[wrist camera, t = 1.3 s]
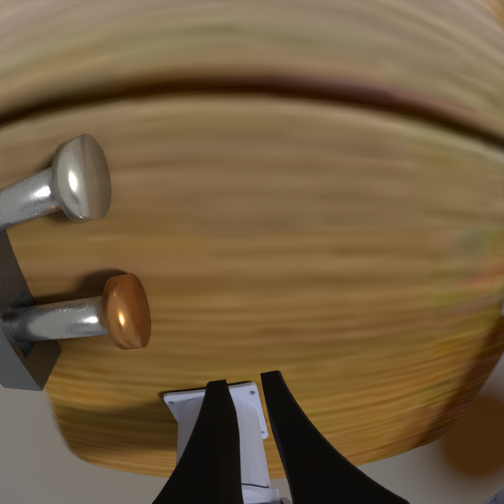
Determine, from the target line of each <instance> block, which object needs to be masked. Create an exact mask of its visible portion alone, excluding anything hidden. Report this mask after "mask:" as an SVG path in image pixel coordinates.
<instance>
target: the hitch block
mask: <svg viewBox="0 0 504 504" xmlns="http://www.w3.org/2000/svg"><path fill="white" fill-rule="evenodd" d="M31 306H37V305H36V303H35V301H34V299H33V297H32V295H31V293H30V290H29V288H28V286H27V284H26V282H25V279H24V277H23V275H22V272H21V270H20V267H19V265H18V263H17V260H16V258H15V255H14V252H13V250H12V247H11V244H10V241H9V239H8V236H7V233H6V230H5V229H4V230H2V231H0V383H1V384H2V386H3V387H5V388H14V389H23V390H35V391H42V390H43V388H44V386H45V384H46V382H47V380H48V378H49V375H50V373H51V371H52V369H53V367H54V365H55V363H56V361H57V359H58V357H59V355H60V354H61V352H62V350H61V349H60V347H59V345H58V344H57V342H56V340H55V339H54V340H39V341H20V342H15V341H14V339H13V337H12V336H11V334H10V332H9V330H8V329H7V327H6V325H5V323H4V321H3V320H2V318H1V316H2V315H3V314H4V313H5V312H6V310H10V309H17V308H24V307H31Z"/></svg>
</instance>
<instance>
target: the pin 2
mask: <svg viewBox="0 0 504 504" xmlns="http://www.w3.org/2000/svg"><path fill="white" fill-rule="evenodd" d="M1 318H2V320H3V321H4V323H5V325H6V327H7V329H8V330H9V332H10V334H11V336H12V337H13V339H14V341H15V342H20V341H39V340H54V339H67V338H79V337H90V336H100V335H110V337H111V339H112V341H113V342H114V343H115V345H116V346H117V347H119V348H120V349H123V350H127V349H137V348H144V347H146V346H147V344H148V343H149V340H150V334H151V318H150V310H149V305H148V300H147V297H146V294H145V291H144V288H143V286H142V284H141V282H140V280H139V279H138V277H137V276H136V275H134V274H132V273H129V274H124V275H119V276H113V277H110V278H109V279H108V280H107V281H106V283H105V286H104V290H103V295H102V296H96V297H89V298H83V299H77V300H70V301H64V302H57V303H51V304H44V305H37V306H31V307H24V308H17V309H10V310H6V312H5V313H4V314H3V315H2V316H1Z"/></svg>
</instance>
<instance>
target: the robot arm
mask: <svg viewBox="0 0 504 504" xmlns="http://www.w3.org/2000/svg"><path fill="white" fill-rule="evenodd" d="M260 375H261V381H262V386H263V391H264V396H265V401H266V406H267V410H268V415H269V420H270V424H271V429H272V432H273V436H274V439H275V442H276V445H277V448H278V451H279V455H280V458H281V461H282V464H283V467H284V470H285V473H286V477H287V480H288V484H289V488H290V493H291V497H292V502H293V503H292V502H291V501H290V500H289V499H288V498H285V497H282V498H279V493H278V489H277V488H271V485H270V480H269V474H268V469H267V463H266V457H265V451H264V445H263V440H262V439H265V438H267V437H268V432H267V428H266V424H265V419H264V415H263V411H262V407H261V403H260V398H259V394H258V390H257V385H256V384H255V383H252V382H249V383H243V384H237V385H231V386H228V385H227V382H226V379H225V380H218V381H211V382H208V383H207V386H206V389H201V390H193V391H183V392H172V393H165V394H164V401H165V402H166V404H167V406H168V407H169V409H170V411H171V412H172V414H173V416H174V417H175V419H176V421H177V422H178V437H177V460H176V467H175V469H174V471H173V473H172V475H171V476H170V478H169V480H168V481H167V483H166V484H165V486H164V487H163V489H162V490H161V492H160V493H159V495H158V496H157V498H156V499H155V500H154V501H153V503H152V504H410V503H409V502H408V501H407V500H405V499H403V498H402V497H400V496H398V495H396V494H394V493H392V492H391V491H389V490H387V489H386V488H384V487H383V486H381V485H380V484H378V483H377V482H375V481H374V480H372V479H371V478H369V477H368V476H367V475H366V474H364V473H363V472H362V471H360V470H359V469H358V468H356V467H355V466H354V465H353V464H351V463H350V462H349V461H348V460H347V459H346V458H345V457H343V456H342V455H341V454H340V453H339V452H338V451H337V450H336V449H335V448H334V447H333V446H332V445H331V444H330V443H329V442H328V441H327V440H326V439H325V438H324V437H323V435H322V434H321V433H320V432H319V431H318V430H317V429H316V427H315V426H314V425H313V424H312V423H311V421H310V420H309V419H308V417H307V416H306V415H305V413H304V412H303V411H302V409H301V408H300V406H299V405H298V404H297V402H296V401H295V399H294V397H293V396H292V394H291V392H290V391H289V389H288V387H287V385H286V383H285V381H284V379H283V377H282V375H281V372H280V371H278V370H276V371H271V372H266V373H261V374H260ZM480 504H504V486H503V487H501V488H500V489H499V490H497V491H496V492H495V493H493V494H492V495H491V496H489V497H488V498H487V499H485V500H484V501H483V502H481V503H480Z"/></svg>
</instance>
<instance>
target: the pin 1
mask: <svg viewBox="0 0 504 504" xmlns="http://www.w3.org/2000/svg"><path fill="white" fill-rule="evenodd" d="M110 203H111V180H110V174H109V169H108V165H107V161H106V158H105V156H104V153H103V151H102V149H101V147H100V145H99V143H98V142H97V141H96V139H95V138H94V137H92V136H91V135H89V134H83V135H80V136H77V137H75V138H72V139H70V140H67V141H64V142H62V143H61V144H60V145H59V146H58V147H57V149H56V151H55V154H54V157H53V162H52V166H51V167H49V168H46V169H44V170H42V171H39V172H37V173H34V174H32V175H30V176H27V177H25V178H23V179H21V180H18V181H16V182H14V183H12V184H10V185H8V186H6V187H4V188H2V189H0V231H2V230H4V229H7V228H10V227H12V226H15V225H18V224H21V223H23V222H26V221H29V220H32V219H35V218H38V217H41V216H44V215H47V214H50V213H53V212H56V211H59V210H63V212H64V213H65V215H66V216H67V217H68V218H69V219H70V220H71V221H73V222H75V223H78V224H82V223H85V222H89V221H93V220H97V219H101V218H103V217H105V216H106V215H107V213H108V211H109V208H110Z"/></svg>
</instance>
